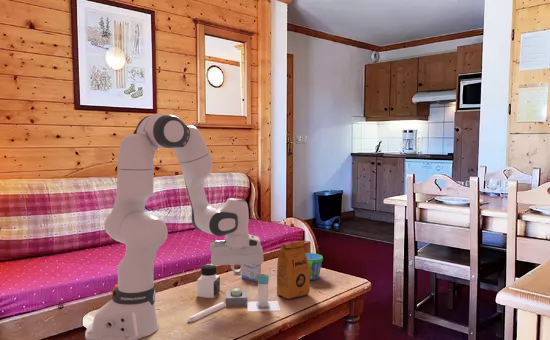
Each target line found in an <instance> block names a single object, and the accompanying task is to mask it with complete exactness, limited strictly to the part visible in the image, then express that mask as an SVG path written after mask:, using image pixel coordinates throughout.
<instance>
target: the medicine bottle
mask: <svg viewBox="0 0 550 340" xmlns="http://www.w3.org/2000/svg"><path fill="white" fill-rule="evenodd" d="M220 276H221V275H220V274H217V265H212V264H211V263H207V264H204V265H203V264H202V265H201V268H200V277H199V278H197V281H196V287H197V288H196V290H197V292H196V296H197V297H199V298H206V299H215V298H216V297H217V295H218V294H219V293H220V292H221V291H220V290H221V289H220V288H221V277H220Z"/></svg>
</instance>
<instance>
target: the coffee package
mask: <svg viewBox="0 0 550 340" xmlns="http://www.w3.org/2000/svg"><path fill="white" fill-rule="evenodd" d="M305 244H306V243H305V240H299V241H293V242H287V243H283V244H282V245H281V247H280V251H279V253H278V257H277V264H276V265H277V266H276V295H277V296H280V297H283V298H284V299H288V300H290V299H294V298H299V297H300V298H301V297H303V296H307V295H309V293H310V291H311V290H310V287H311V284H310V280H309V276H310V268H309V263H308V259H307V256H306V254H305V253H306V251H305V247H304V246H305Z"/></svg>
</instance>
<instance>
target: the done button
mask: <svg viewBox="0 0 550 340" xmlns="http://www.w3.org/2000/svg"><path fill="white" fill-rule="evenodd" d="M231 290H232V296H241V290H242V289H241V288H239V287H237V288H236V287H235V288H232V289H231Z"/></svg>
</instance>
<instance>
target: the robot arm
mask: <svg viewBox="0 0 550 340" xmlns="http://www.w3.org/2000/svg"><path fill="white" fill-rule="evenodd" d="M201 133H202V132H200V130H199V129H198V128H197V127H196V126H194V125H186V123H185V122H184V121H183V120H182V119H181V118H179V117H178V116H176V115H173V114H162V113H157V114H152V115H151V114H150V115H146V116H145V117H143V118H141V120H140V121H139V122H138V123H137V126H136V128H135V130H134V131H133V133H130V134H128V135H126V136H124V137H123V138H122V139H121V141H120V144H119V149H118V155H117V165H116V166H117V172H116V173H117V174H116V175H117V176H116V178H117V179H116V180H117V181H116V196H115V200H114V204H113V207H112V210H111V212H110V213H109V214H108V215H107V216H106V219H105V220H104V230H105V233H106V234H107V235H108V236H109V237H110V238H111V239H113V240H115V241H116V242H119V243H121V244H125V253H124V255H123V258H122V259H121V260H120V261H119V263H118V265H117V284H115V285H114V286H113V288H112V290H111V293H110V298H111V300H109V301H107V302H106V303H105V304H104V305H102V306H101V307H100V308H99V309H98V310H97V311H96V313H95V314H94V318H93V322H92V323H90V324H89V325H88V327H87V328H86V330H85V333H84V334H85V335H84V339H85V340H140V339H142V338H145V337H148V336H150V335H152V334H154V333H156V332H157V331H158V329H159V328H160V325H159V322H158V318H157V313H156V306H155V305H156V303H155V302H156V285H155V284H154V279H155V278H154V271H155V270H154V269H155V268H154V267H155V266H154V265H155V258H156V256H157V253H158V250H159V248H160V247H162V245H164V243H165V242H166V240H167V238H168V233H169V231H168V227H167V224H166V222H165V221H164V220H162V219H160V218H159V217H157V216H156V215H154V214H151V213H150V214H149V213H146V212H145V208H146V205H147V201H148V200H149V198H151V196H152V195H153V194H154V176H155V175H154V173H155V172H154V170H155V169H154V167H155V166H154V165H155V163H154V159H155V158H154V157H155V156H156V155H155V154H156V152H157V151H158V149H172V150H173V151H174V153H175V155H176V158H177V161H178V163H179V167H180V169H181V172H182V176H183V179H184V180H183V181H184V184H185V188H186V189H185V190H186V192H187V197H188V199H189V202H190V207H191V223H192V226H193V227H194V228H195V230H197V231H198V232H203V233H206V234H208V235H212V236H215V237H224V236H225V239H224V240H214V241H212V242H210V244H209V251H210V252H211V257H210V264H212V265H215V266H230V269H231V270H232V272H233V276H234V277H235V276H237V277H240V276H241V277H242V270H243V268H244V264H261V265H262V264H263V263H264V261H265V260H264V259H265V258H264V251H263V247H262V245H261V238H260V237H259V236H258V235H253V234H250V233H249V232H250V231H249V227H248V226H249V219H250V217H249V215H250V214H249V205H248V203H247V201H246V200H244V199H241V198H238V197H237V198H235V197H230V198H227V200H226V201H225V202H224V203H223V204H222V205H220V206H217V207H216V208H215V207H214V206H212V205H211V204H210V203H209V202H208V199H207V198H208V197H207V195H206V192H205V187H204V181H205V180H206V179H208V178H209V176H210V175H211V173H212V172H213V167H214V166H213V160H212V157H211V154H210V151H209V149H208V146H207V142H206V141H205V139H204V137H203V135H202V134H201ZM235 265H236V266H237V265H240V268H239V269H235Z"/></svg>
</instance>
